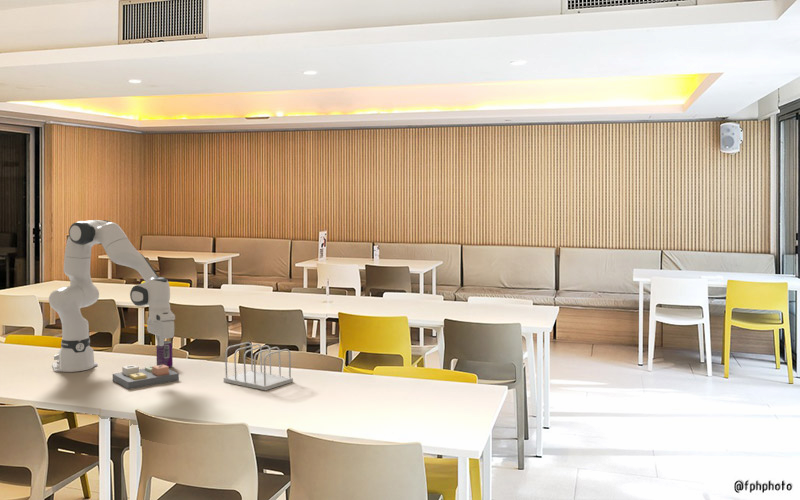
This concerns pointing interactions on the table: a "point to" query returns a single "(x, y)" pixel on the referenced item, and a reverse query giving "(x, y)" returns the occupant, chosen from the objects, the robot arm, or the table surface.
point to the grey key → (130, 370)
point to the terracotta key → (160, 370)
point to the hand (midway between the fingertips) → (160, 345)
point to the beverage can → (164, 354)
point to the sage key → (148, 369)
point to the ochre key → (137, 376)
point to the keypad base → (144, 379)
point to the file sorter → (258, 378)
